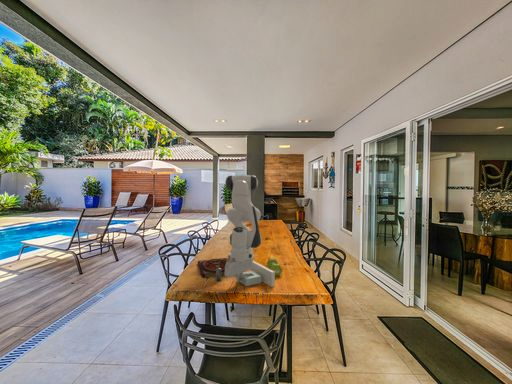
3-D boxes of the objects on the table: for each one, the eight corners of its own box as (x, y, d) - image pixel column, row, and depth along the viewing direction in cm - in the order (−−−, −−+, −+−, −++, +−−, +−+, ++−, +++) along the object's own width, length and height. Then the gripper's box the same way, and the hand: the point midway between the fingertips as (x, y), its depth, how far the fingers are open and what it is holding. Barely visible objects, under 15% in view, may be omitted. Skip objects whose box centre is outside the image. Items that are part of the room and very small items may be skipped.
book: (197, 265, 180) (197, 258, 179) (226, 261, 186) (226, 255, 186) (202, 279, 153) (202, 271, 153) (236, 275, 159) (236, 267, 159)
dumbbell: (266, 268, 172) (266, 257, 171) (277, 268, 172) (277, 257, 172) (270, 277, 155) (270, 265, 155) (282, 276, 156) (282, 265, 156)
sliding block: (238, 280, 148) (238, 273, 148) (252, 277, 153) (252, 270, 153) (246, 286, 140) (246, 279, 139) (261, 282, 145) (261, 276, 145)
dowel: (215, 280, 149) (215, 268, 149) (220, 279, 150) (220, 267, 150) (217, 281, 146) (217, 269, 146) (222, 280, 148) (222, 269, 148)
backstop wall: (250, 273, 160) (250, 261, 160) (253, 273, 161) (253, 260, 161) (271, 286, 140) (271, 272, 140) (274, 286, 141) (274, 271, 141)
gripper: (230, 261, 132) (230, 287, 133) (254, 253, 149) (254, 276, 149) (222, 259, 136) (221, 284, 137) (246, 251, 152) (246, 274, 153)
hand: (239, 280), depth 143 cm, fingers closed
